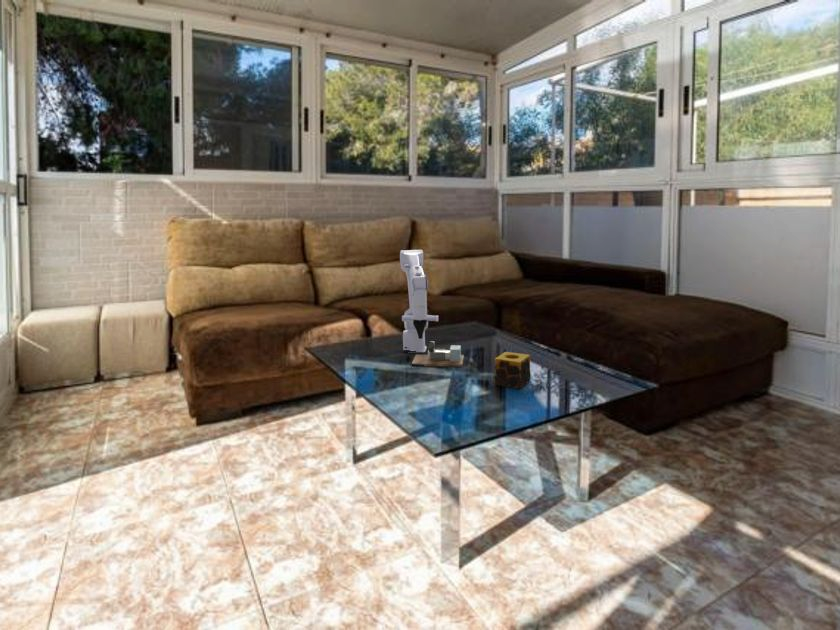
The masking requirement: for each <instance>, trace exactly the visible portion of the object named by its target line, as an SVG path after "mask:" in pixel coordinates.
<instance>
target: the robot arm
mask: <svg viewBox="0 0 840 630" xmlns="http://www.w3.org/2000/svg"><path fill="white" fill-rule="evenodd" d="M399 263H400V268H401V271H402V272H405V275H406V278H407V289H408V292H407V293H408V300H409V301H408V302H409V308H408V309H406V310H405V311H404V314H403V315H402V316H401V321H402V322H403V324H404V329H405V330H403V332H402V346H403V347H402V349H403V350H410V351H416V352H415V353H425V352H426V351H427V348H428V346H427V345H426V337H425V335H426V333H425V331H426V330H427V329H428V327H429V322H439V315H431V314H428V302H427V301H428V300H427V299H428V298H427V297H428V296H427V295H428V294H427V291H428V287H429V280H428V276H427V275H426V274H425V272H424V269H423V266H424V251H423V250H422V249H410V250H409V249H407V250H403V249H401V250H400V252H399ZM405 347H407V348H405ZM403 350H402V351H403Z"/></svg>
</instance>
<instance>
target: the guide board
mask: <svg viewBox="0 0 840 630" xmlns="http://www.w3.org/2000/svg"><path fill="white" fill-rule="evenodd" d="M464 357H465V355H464V354H461V360H460V362H450V360H445V361H430V359H428V354H415V356H414V358H413V360H412V362H411V365H412V364H417V365H424V366H423V367H463V364H464Z"/></svg>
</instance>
